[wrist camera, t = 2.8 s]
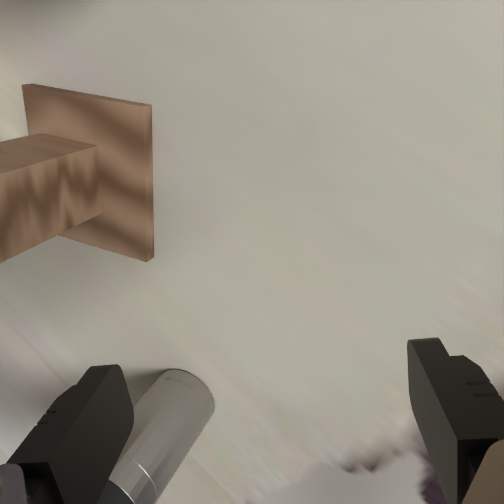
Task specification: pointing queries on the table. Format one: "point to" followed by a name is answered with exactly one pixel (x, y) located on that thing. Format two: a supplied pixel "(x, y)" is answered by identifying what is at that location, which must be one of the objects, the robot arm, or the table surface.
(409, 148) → the table surface
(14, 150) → the stand
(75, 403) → the robot arm
